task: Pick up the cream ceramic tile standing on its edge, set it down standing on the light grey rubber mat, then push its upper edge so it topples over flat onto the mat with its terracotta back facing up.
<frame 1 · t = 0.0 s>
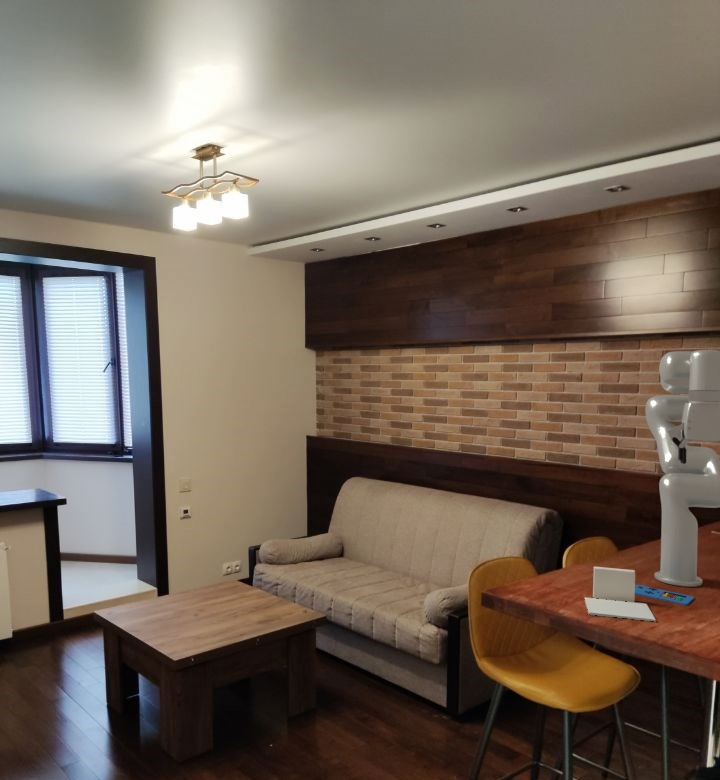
hand: (703, 464, 162), 37 cm above the table, tool pointing down, fingers open, 9 cm apart
handheld gaming device: (660, 597, 171), on the table
rubber mat: (618, 610, 158), on the table
ceramic tile: (613, 599, 166), on the table
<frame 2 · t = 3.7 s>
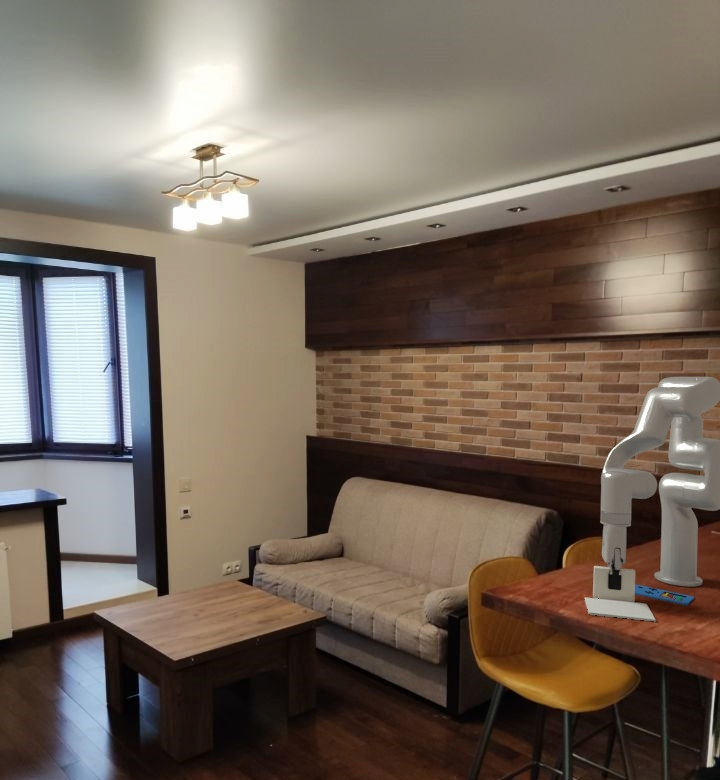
hand: (613, 587, 166), 3 cm above the table, tool pointing down, fingers closed on ceramic tile, 1 cm apart
ceramic tile: (613, 599, 166), on the table, touching gripper
everything else where it was.
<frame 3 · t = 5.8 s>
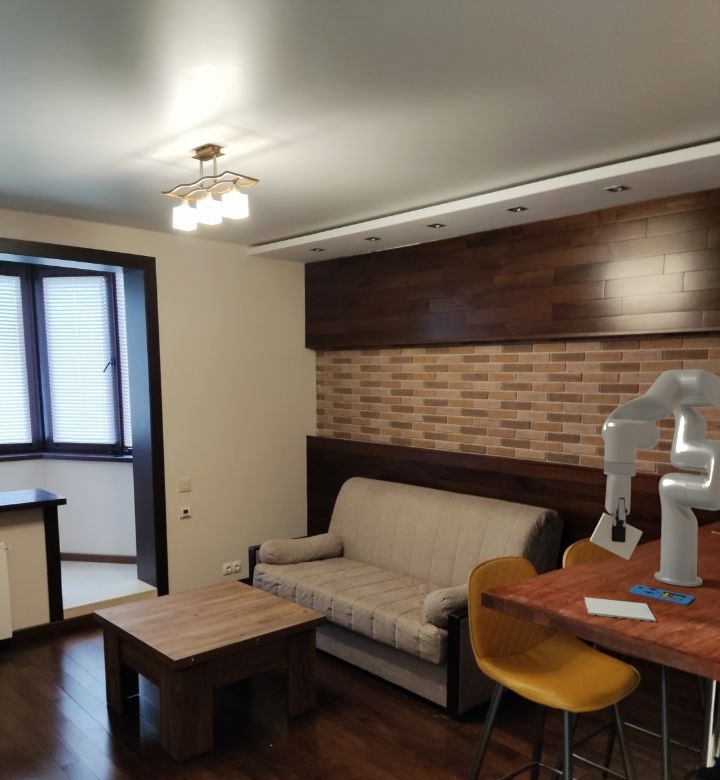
hand: (617, 540, 162), 17 cm above the table, tool pointing down, fingers closed on ceramic tile
ceramic tile: (608, 549, 162), point 14 cm above the table, tilted 24°, touching gripper
everything else where it was.
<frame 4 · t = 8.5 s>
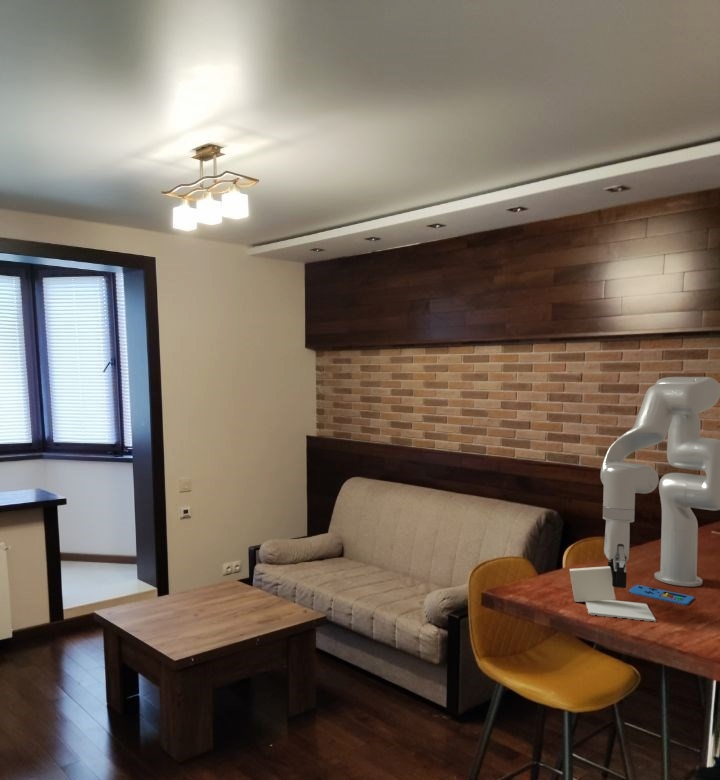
hand: (616, 581, 162), 6 cm above the table, tool pointing down, fingers open, 8 cm apart
ceramic tile: (594, 599, 163), point 1 cm above the table, tilted 10°, touching rubber mat
everything else where it was.
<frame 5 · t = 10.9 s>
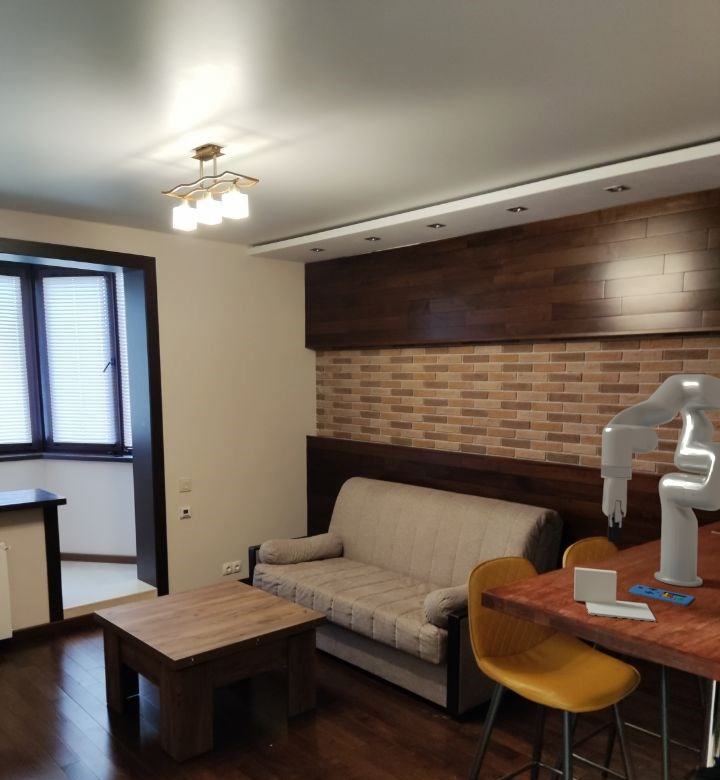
hand: (614, 541, 167), 15 cm above the table, tool pointing down, fingers closed
ceramic tile: (594, 601, 163), point 1 cm above the table, touching rubber mat
everything else where it was.
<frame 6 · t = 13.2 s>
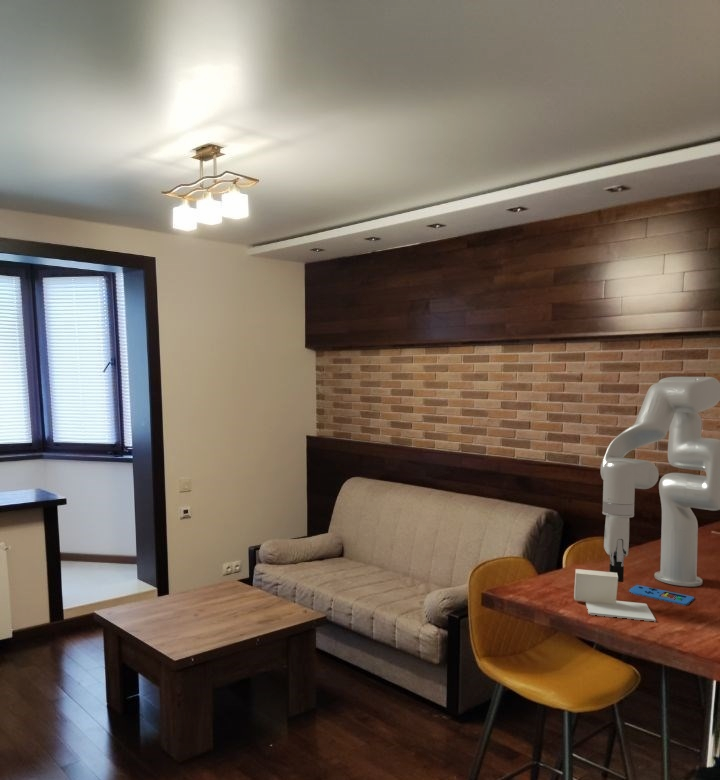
hand: (616, 580, 162), 6 cm above the table, tool pointing down, fingers closed
ceramic tile: (594, 600, 162), point 1 cm above the table, tilted 18°, touching rubber mat
everything else where it was.
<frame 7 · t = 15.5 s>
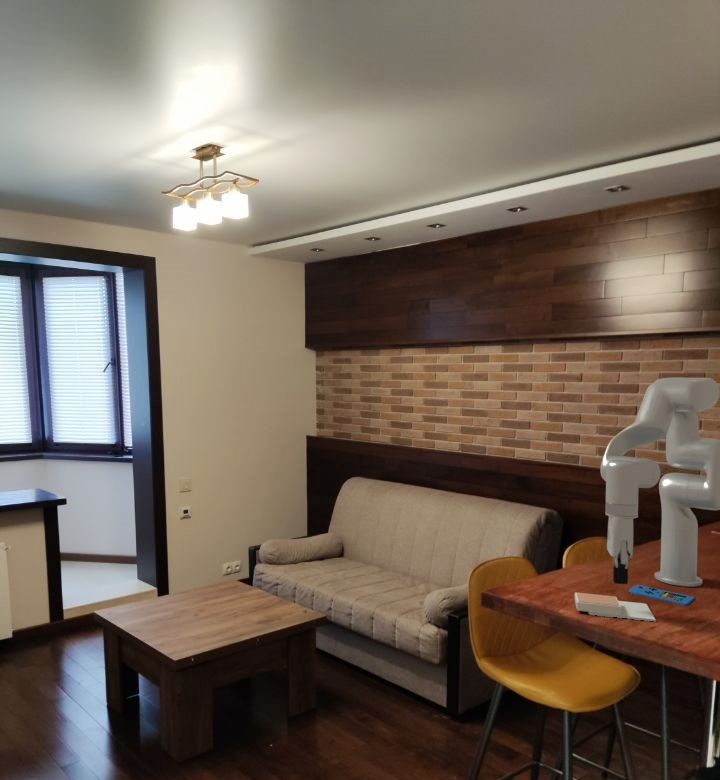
hand: (620, 582, 158), 7 cm above the table, tool pointing down, fingers closed
ceramic tile: (595, 598, 161), point 2 cm above the table, tilted 90°, touching rubber mat
everything else where it was.
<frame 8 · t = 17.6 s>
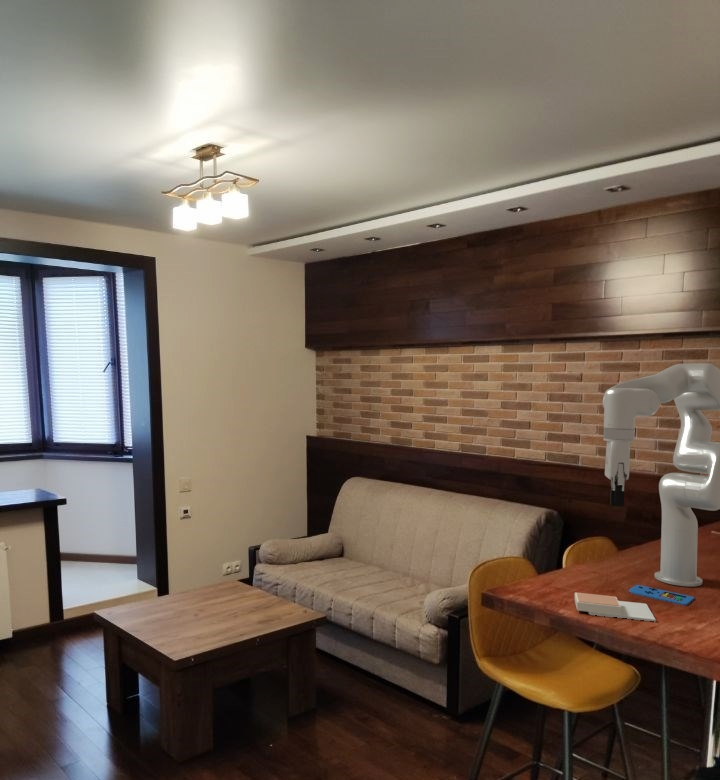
hand: (617, 505, 165), 25 cm above the table, tool pointing down, fingers closed
nothing on the table moved.
at the end: ceramic tile tilted 90°; ceramic tile inside the target area (6.3 cm from its centre), point 1.6 cm above the table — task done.
